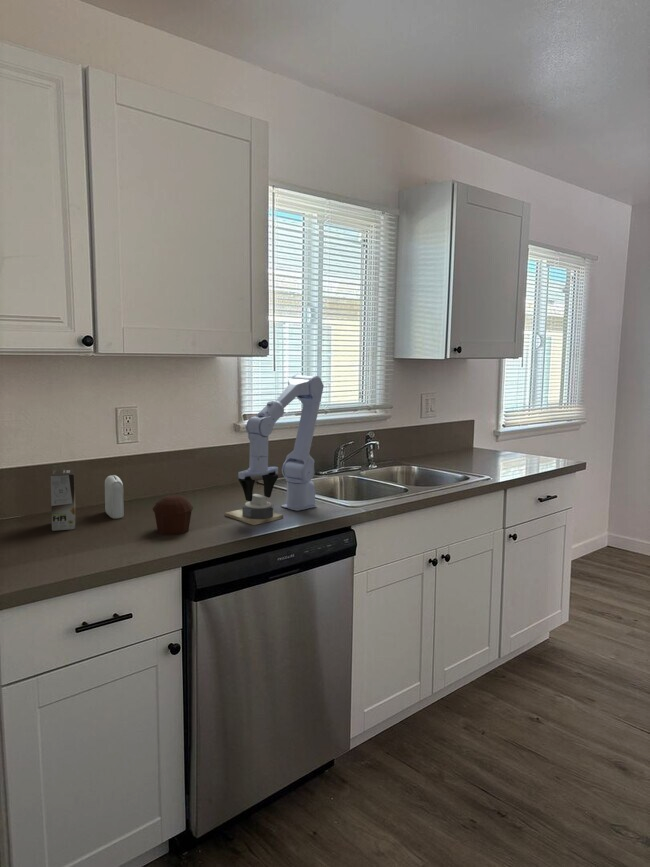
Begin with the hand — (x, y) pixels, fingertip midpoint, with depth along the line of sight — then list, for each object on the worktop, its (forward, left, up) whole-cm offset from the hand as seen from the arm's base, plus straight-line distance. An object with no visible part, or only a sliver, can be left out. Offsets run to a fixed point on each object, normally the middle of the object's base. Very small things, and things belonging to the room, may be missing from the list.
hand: (258, 498), depth 204 cm
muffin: (+27, -6, -6) cm, 28 cm away
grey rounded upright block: (+31, -32, -6) cm, 45 cm away
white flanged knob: (0, 0, -4) cm, 4 cm away
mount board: (0, -2, -6) cm, 7 cm away
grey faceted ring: (0, 0, -6) cm, 6 cm away
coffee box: (+48, -30, -6) cm, 57 cm away
